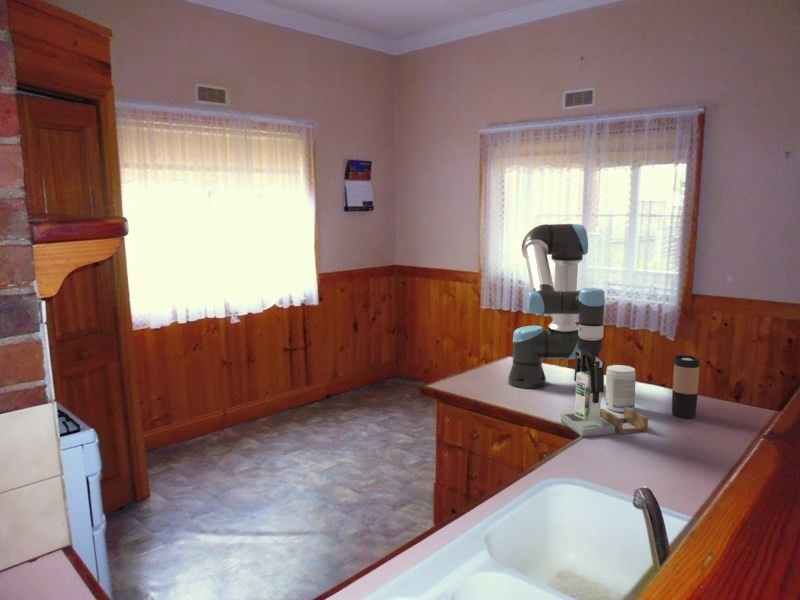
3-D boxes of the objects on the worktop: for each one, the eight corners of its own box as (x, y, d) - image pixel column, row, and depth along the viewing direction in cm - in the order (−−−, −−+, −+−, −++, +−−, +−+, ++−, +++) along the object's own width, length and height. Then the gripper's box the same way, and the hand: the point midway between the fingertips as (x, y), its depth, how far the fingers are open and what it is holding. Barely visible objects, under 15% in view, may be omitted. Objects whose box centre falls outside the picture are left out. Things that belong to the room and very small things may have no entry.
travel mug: (667, 415, 188) (671, 358, 185) (675, 410, 194) (678, 354, 191) (692, 421, 183) (696, 362, 180) (699, 415, 188) (703, 357, 186)
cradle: (599, 422, 183) (599, 408, 182) (626, 419, 185) (627, 406, 184) (618, 434, 172) (619, 420, 172) (647, 431, 174) (648, 418, 173)
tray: (560, 421, 184) (560, 414, 184) (591, 418, 186) (591, 411, 186) (582, 437, 170) (582, 429, 170) (614, 434, 172) (615, 426, 172)
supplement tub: (640, 409, 194) (642, 369, 192) (623, 415, 189) (625, 373, 187) (615, 402, 202) (617, 363, 200) (599, 407, 197) (600, 367, 195)
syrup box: (573, 415, 179) (575, 372, 177) (588, 413, 181) (589, 370, 179) (586, 421, 174) (587, 376, 172) (600, 418, 176) (602, 374, 174)
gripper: (564, 332, 183) (562, 399, 186) (595, 344, 164) (593, 419, 167) (585, 331, 184) (582, 398, 187) (618, 343, 165) (615, 417, 169)
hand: (587, 408), depth 177 cm, fingers closed on syrup box, 6 cm apart
